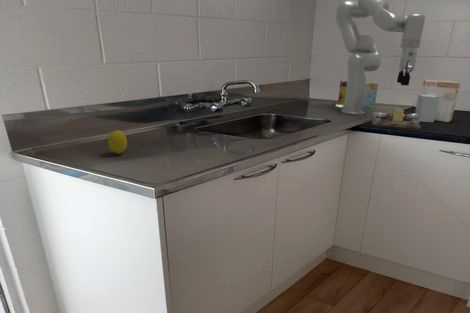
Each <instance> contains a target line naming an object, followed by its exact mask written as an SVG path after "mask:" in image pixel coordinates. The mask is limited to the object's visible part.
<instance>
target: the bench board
mask: <svg viewBox="0 0 470 313" xmlns="http://www.w3.org/2000/svg"><path fill="white" fill-rule="evenodd" d="M370 121H371V124H372V125H373V126H378V127H379V126H381V127H392V128H405V129H415V130H421V129H422V128H421V127H422V126H421V125H420V124H419V125H413V124H412V123H411V121H410V120H409V121H408V120H404V121H403V122H407V123H406V125H403V124H390V123H389V121H388V120H387V119H386V118H385V119H384V118H381V121H380V122H375V121H374V118H371V120H370Z"/></svg>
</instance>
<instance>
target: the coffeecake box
mask: <svg viewBox="0 0 470 313" xmlns="http://www.w3.org/2000/svg"><path fill="white" fill-rule="evenodd" d="M460 86H461V81H453V80H443V79H440V80H439V79H427V78H426V79H424V80H423V84H422V89H421V94H420V95H435V96H437V97H439V100H438V105H437V109H436V114H435V119H434V121H437V122H445V123H450V122H451V121H452V120H453V116H454V112H455V107H456V103H457V98H458V94H459V89H460Z"/></svg>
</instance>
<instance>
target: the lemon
mask: <svg viewBox="0 0 470 313" xmlns="http://www.w3.org/2000/svg"><path fill="white" fill-rule="evenodd" d="M107 143H108V146H109V149H110V150H111V151H112V152H113V153H116V154H117V155H120V154H122V153H123V152H124V151H125V150H126V149H127V146H128V139H127V136H126V134H125V133H124V132H123V131H121V130H118V129H114V131H112V132H111V133H110V134H109V136H108V142H107Z"/></svg>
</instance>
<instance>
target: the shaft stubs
mask: <svg viewBox="0 0 470 313" xmlns="http://www.w3.org/2000/svg"><path fill="white" fill-rule="evenodd" d="M389 115H390V113H389V112H382V111H381V112H380V111H373V114H372V117H373V119H374V121H375V122H380V121H381V119H384V118H385V119H386V120H388V121H389V123H390V124H403V125H406V123H407V122H403V121H405V119H406V120H411V123H412V124H413V125H420V122H421V121H420V120H419V119H418V118H420V117H421V115H420V113H415V112H414V113H407V114H405V119H402V122H397V121H391V118H389Z"/></svg>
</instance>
